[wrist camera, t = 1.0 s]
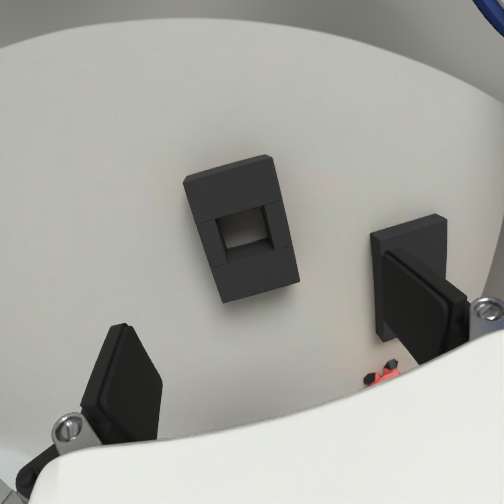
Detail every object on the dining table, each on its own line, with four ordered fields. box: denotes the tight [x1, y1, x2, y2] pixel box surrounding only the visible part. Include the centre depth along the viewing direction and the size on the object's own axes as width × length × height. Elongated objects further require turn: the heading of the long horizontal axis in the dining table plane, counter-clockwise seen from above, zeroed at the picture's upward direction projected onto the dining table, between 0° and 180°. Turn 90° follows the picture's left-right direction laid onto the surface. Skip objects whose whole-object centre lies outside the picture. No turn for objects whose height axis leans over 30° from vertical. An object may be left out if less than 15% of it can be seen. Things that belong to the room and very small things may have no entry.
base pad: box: [370, 214, 447, 343], centre depth 28 cm, size 12×8×4 cm, turn 14°
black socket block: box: [183, 154, 300, 303], centre depth 24 cm, size 10×6×3 cm, turn 14°
